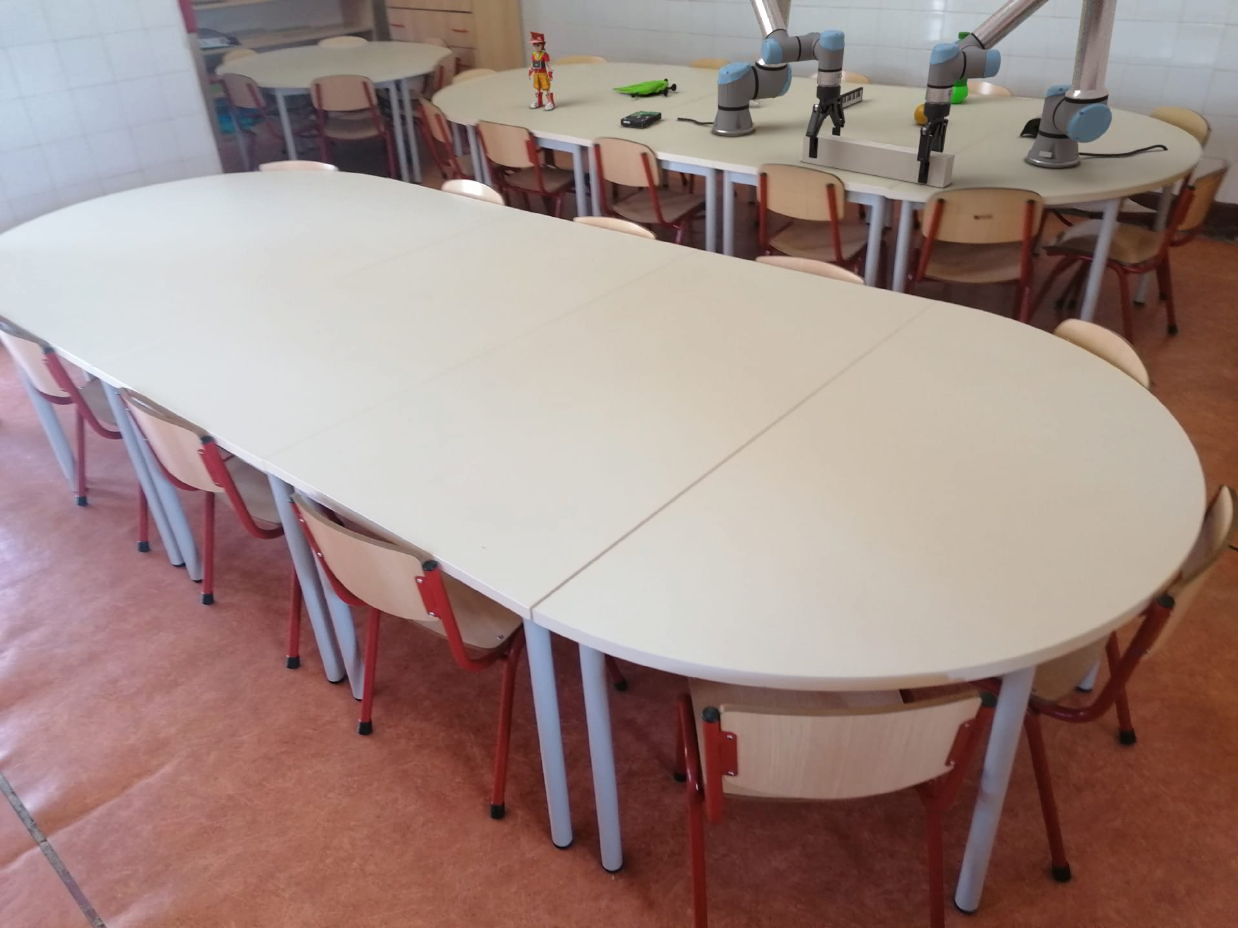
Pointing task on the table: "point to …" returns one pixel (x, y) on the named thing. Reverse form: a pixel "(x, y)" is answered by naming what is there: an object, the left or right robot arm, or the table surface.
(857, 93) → the midi keyboard
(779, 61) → the left robot arm
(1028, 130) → the black curved piece
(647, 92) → the toy
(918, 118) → the fruit
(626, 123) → the disk drive
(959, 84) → the plastic bottle
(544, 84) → the toy
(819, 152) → the bar
